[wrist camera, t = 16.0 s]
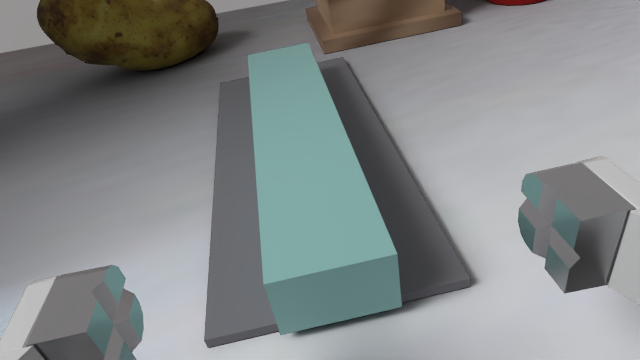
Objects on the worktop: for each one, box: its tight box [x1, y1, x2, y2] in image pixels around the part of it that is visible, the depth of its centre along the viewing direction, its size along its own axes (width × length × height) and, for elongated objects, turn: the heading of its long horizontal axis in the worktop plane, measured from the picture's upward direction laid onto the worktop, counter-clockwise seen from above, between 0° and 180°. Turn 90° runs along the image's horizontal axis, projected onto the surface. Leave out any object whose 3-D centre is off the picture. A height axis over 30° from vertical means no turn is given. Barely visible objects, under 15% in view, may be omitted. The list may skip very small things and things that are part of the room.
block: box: [248, 43, 402, 335], centre depth 22 cm, size 4×20×2 cm, turn 9°
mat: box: [204, 57, 470, 348], centre depth 24 cm, size 9×22×1 cm, turn 9°
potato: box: [37, 0, 218, 70], centre depth 38 cm, size 8×13×8 cm, turn 94°
